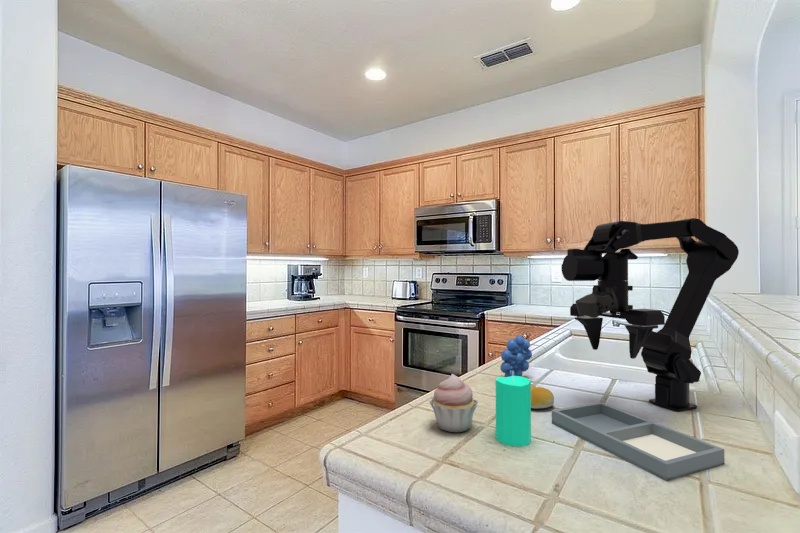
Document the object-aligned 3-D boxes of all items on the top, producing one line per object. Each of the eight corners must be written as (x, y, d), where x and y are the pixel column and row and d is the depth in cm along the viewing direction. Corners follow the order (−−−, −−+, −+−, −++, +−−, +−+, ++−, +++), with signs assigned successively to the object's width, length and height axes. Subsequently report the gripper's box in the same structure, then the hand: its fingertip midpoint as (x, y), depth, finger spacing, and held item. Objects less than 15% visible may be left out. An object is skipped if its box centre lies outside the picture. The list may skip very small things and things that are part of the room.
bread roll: (542, 412, 79) (540, 392, 79) (505, 402, 86) (505, 384, 86) (562, 403, 84) (561, 384, 84) (527, 394, 91) (526, 377, 91)
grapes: (518, 372, 112) (518, 331, 112) (537, 378, 106) (537, 334, 106) (489, 379, 105) (489, 335, 105) (508, 385, 100) (508, 339, 100)
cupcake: (457, 413, 80) (457, 365, 80) (488, 429, 72) (488, 376, 72) (419, 422, 76) (419, 371, 76) (448, 440, 67) (448, 383, 68)
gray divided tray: (600, 414, 80) (600, 402, 80) (724, 465, 59) (724, 449, 59) (551, 423, 75) (551, 410, 75) (667, 482, 54) (667, 464, 54)
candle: (531, 434, 70) (530, 368, 70) (530, 448, 64) (530, 377, 64) (497, 429, 72) (497, 365, 72) (494, 443, 66) (493, 374, 66)
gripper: (551, 280, 88) (551, 348, 88) (624, 282, 71) (625, 367, 70) (588, 279, 92) (588, 344, 92) (666, 281, 75) (666, 362, 74)
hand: (613, 353), depth 82 cm, fingers open, 9 cm apart
